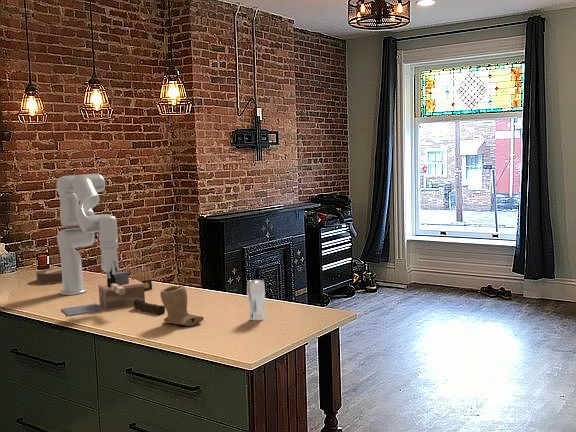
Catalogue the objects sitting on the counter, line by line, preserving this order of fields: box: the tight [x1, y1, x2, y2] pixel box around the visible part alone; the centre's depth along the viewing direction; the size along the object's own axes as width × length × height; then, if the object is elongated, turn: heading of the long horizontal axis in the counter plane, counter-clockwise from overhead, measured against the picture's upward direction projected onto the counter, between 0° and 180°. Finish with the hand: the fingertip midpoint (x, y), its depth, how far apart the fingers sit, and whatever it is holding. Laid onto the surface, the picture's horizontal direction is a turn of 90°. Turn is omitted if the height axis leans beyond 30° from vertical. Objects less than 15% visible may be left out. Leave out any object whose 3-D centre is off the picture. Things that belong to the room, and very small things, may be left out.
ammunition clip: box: [130, 265, 153, 292], centre depth 309 cm, size 11×2×12 cm, turn 130°
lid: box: [97, 271, 144, 291], centre depth 282 cm, size 12×17×7 cm
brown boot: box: [160, 284, 205, 327], centre depth 245 cm, size 15×12×15 cm
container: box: [36, 267, 63, 285], centre depth 346 cm, size 20×20×6 cm
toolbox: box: [98, 286, 146, 311], centre depth 283 cm, size 12×17×8 cm
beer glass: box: [246, 279, 266, 322], centre depth 248 cm, size 7×7×15 cm
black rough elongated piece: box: [133, 299, 166, 316], centre depth 268 cm, size 19×4×5 cm, turn 47°
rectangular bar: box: [110, 283, 125, 295], centre depth 264 cm, size 14×2×2 cm, turn 32°
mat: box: [60, 303, 105, 317], centre depth 274 cm, size 14×15×1 cm
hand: (111, 286), depth 272 cm, fingers closed
